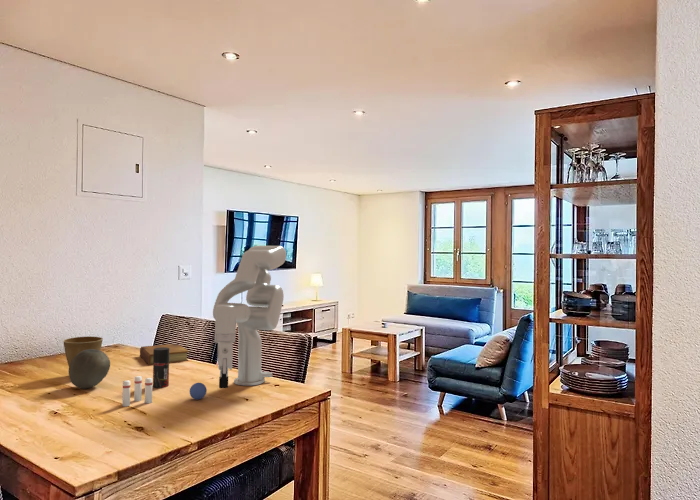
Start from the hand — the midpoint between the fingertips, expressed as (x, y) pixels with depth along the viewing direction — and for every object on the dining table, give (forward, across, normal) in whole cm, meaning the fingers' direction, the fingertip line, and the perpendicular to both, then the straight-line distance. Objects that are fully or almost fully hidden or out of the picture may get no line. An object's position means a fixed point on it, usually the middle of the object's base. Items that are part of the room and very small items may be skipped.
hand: (223, 387), depth 180 cm
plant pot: (+4, +47, +58) cm, 75 cm away
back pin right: (+4, +5, +30) cm, 31 cm away
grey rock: (+4, +27, +51) cm, 58 cm away
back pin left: (+5, -1, +33) cm, 33 cm away
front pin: (+4, +1, +26) cm, 26 cm away
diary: (+3, +77, +28) cm, 82 cm away
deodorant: (+4, +23, +24) cm, 33 cm away
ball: (+1, +1, +9) cm, 9 cm away
